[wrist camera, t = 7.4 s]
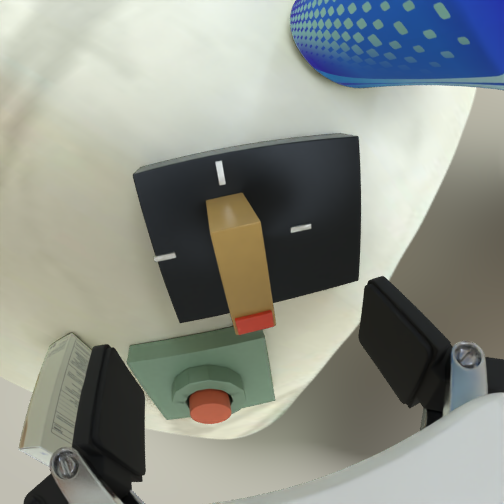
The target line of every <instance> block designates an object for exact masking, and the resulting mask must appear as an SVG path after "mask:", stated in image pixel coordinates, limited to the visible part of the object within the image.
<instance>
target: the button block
mask: <svg viewBox="0 0 504 504" xmlns="http://www.w3.org/2000/svg"><path fill="white" fill-rule="evenodd" d="M127 364H128V366H129V367H130V369H131V370H132V372H133V373H134V375H135V376H136V378H137V379H138V381H139V382H140V384H141V385H142V387H143V388H144V390H145V391H146V392H147V394H148V395H149V397H150V398H151V400H152V401H153V402H154V404H155V405H156V406H157V408H158V409H159V410H160V412H161V413H162V414H163V416H164V417H165V418H166V420H170V419H179V418H187V417H190V418H191V416H190V407H189V397H190V395H191V394H192V393H194V392H196V391H198V390H204V389H217V390H223V391H225V392H226V393H227V394H228V396H229V400H230V406H231V411H232V413H231V414H233V413H235V412H237V411H239V410H240V409H241V408H245V407H250V406H254V405H259V404H263V403H267V402H271V401H275V396H274V390H273V384H272V378H271V372H270V366H269V360H268V354H267V348H266V342H265V337H264V334H263V331H262V330H258V331H254V332H250V333H246V334H241V335H236V333H235V329H234V326H233V327H229V328H224V329H219V330H215V331H210V332H205V333H200V334H195V335H189V336H184V337H179V338H173V339H168V340H162V341H156V342H150V343H144V344H137V345H131V346H130V348H129V353H128V359H127Z"/></svg>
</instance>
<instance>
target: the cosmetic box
mask: <svg viewBox="0 0 504 504" xmlns="http://www.w3.org/2000/svg"><path fill="white" fill-rule="evenodd" d="M91 351H92V350H91V349H89V348H88V347H87V346H86V345H85V344H84V343H83V342H82V341H81V340H79V339H78V338H77V337H76V336H75V335H74V334H73V333H71V334H69V335H67V336H65V337H63V338H62V339H60V340H58V341H56V342H55V343H53V344H52V345H51V346H50V347H49V349H48V352H47V354H46V356H45V359H44V362H43V364H42V367H41V370H40V373H39V376H38V379H37V382H36V385H35V388H34V391H33V394H32V397H31V400H30V404H29V407H28V411H27V414H26V418H25V422H24V426H23V430H22V434H21V439H20V444H19V450H20V451H23V452H24V453H26V454H27V455H29V456H30V457H32V458H34V459H36V460H37V461H39V462H41V463H43V464H45V465H47V466H49V467H50V465H49V464H50V459H51V457H52V455H53V453H54V452H55V451H56V450H57V449H59V448H61V447H66V446H67V447H72V442H73V435H74V428H75V422H76V416H77V410H78V405H79V400H80V395H81V390H82V387H83V384H84V380H85V376H86V371H87V367H88V363H89V359H90V355H91Z"/></svg>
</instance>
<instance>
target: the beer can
mask: <svg viewBox="0 0 504 504" xmlns="http://www.w3.org/2000/svg"><path fill="white" fill-rule="evenodd" d="M290 26H291V32H292V36H293V39H294V41H295V44H296V46H297V48H298V49H299V51H300V53H301V54H302V56H303V57H304V58H305V59H306V61H307V62H308V63H309V64H310V65H311V66H312V67H313V68H314V69H315V70H316V71H317V72H319V73H320V74H321V75H323V76H324V77H326V78H327V79H329V80H331V81H333V82H335V83H338V84H340V85H343V86H347V87H353V88H369V87H382V86H401V85H450V86H468V87H480V88H490V89H498V90H504V0H296V1H295V3H294V5H293V7H292V11H291V16H290Z"/></svg>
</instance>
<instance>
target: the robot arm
mask: <svg viewBox="0 0 504 504" xmlns="http://www.w3.org/2000/svg"><path fill="white" fill-rule="evenodd" d="M359 341H360V343H361V345H362V346H363V347H364V349H365V350H366V352H367V353H368V355H369V356H370V357H371V359H372V360H373V361H374V363H375V364H376V366H377V367H378V369H379V370H380V372H381V373H382V375H383V376H384V378H385V379H386V380H387V382H388V383H389V385H390V386H391V388H392V389H393V391H394V392H395V394H396V395H397V397H398V398H399V400H400V401H401V402H402V403H403V404H407V405H408V407H409V408H411V407H413V406H415V405H417V404H418V403H421V405H422V406H423V407H424V409H423V416H422V422H421V428H420V431H419V432H418V433H416V434H414V435H413V436H410V437H409V438H407V439H405V440H403V441H401V442H400V443H398V444H396V445H394V446H392V447H390V448H388V449H386V450H384V451H382V452H380V453H378V454H376V455H374V456H372V457H370V458H368V459H366V460H363V461H361V462H359V463H356V464H354V465H352V466H349V467H347V468H345V469H342V470H340V471H337V472H334V473H332V474H329V475H326V476H324V477H321V478H318V479H315V480H312V481H309V482H306V483H303V484H299V485H296V486H293V487H289V488H286V489H282V490H278V491H275V492H270V493H266V494H262V495H257V496H253V497H247V498H243V499H237V500H231V501H225V502H219V503H210V504H504V360H503V359H495V358H489V357H485V355H484V352H483V350H482V349H481V348H480V347H479V346H478V345H477V344H475V343H473V342H470V341H461V342H458V343H457V344H455V345H454V346H453V347H452V346H451V344H450V341H449V340H448V339H447V338H446V337H445V336H444V335H443V334H442V333H441V332H440V331H439V330H438V329H437V328H436V327H435V326H434V325H433V324H432V323H431V322H430V321H429V320H428V319H427V318H426V317H425V316H424V315H423V314H422V313H421V312H420V311H419V310H418V309H417V308H416V307H415V306H414V305H413V304H412V303H411V302H410V301H409V300H408V299H407V298H406V297H405V296H404V295H403V294H402V293H401V292H400V291H399V290H398V289H397V288H396V287H395V286H394V285H393V284H391V282H389V281H388V280H387V279H386V278H385V277H384V276H381V277H378V278H375V279H371V280H369V281H368V284H367V285H366V286H365V288H364V297H363V306H362V314H361V322H360V329H359ZM144 430H145V396H144V392H143V390H142V389H141V387H140V386H139V384H138V383H137V382H136V380H135V379H134V377H133V376H132V374H131V373H130V371H129V370H128V368H127V367H126V365H125V364H124V362H123V361H122V359H121V357H120V356H119V354H118V353H117V351H116V349H115V348H111V347H110V346H109V345H108V344H106V345H100V346H94V347H93V348H92V351H91V355H90V359H89V363H88V367H87V371H86V376H85V380H84V384H83V387H82V390H81V395H80V400H79V405H78V410H77V416H76V422H75V428H74V435H73V442H72V447H67V446H66V447H61V448H59V449H57V450H56V451H55V452H54V453H53V455H52V457H51V459H50V464H49V465H50V471H51V474H50V475H49V476H48V477H46V478H45V479H44V480H43V481H42V482H41V483H40V484H38V485H37V486H36V487H35V488H34V489H33V490H32V491H30V492H29V493H28V494H27V496H26V497H25V499H24V504H145V503H144V502H143V501H142V500H141V499H140V498H139V497H138V496H137V495H136V494H135V493H134V492H133V491H132V485H131V482H142V475H145V471H146V469H145V431H144Z"/></svg>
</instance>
